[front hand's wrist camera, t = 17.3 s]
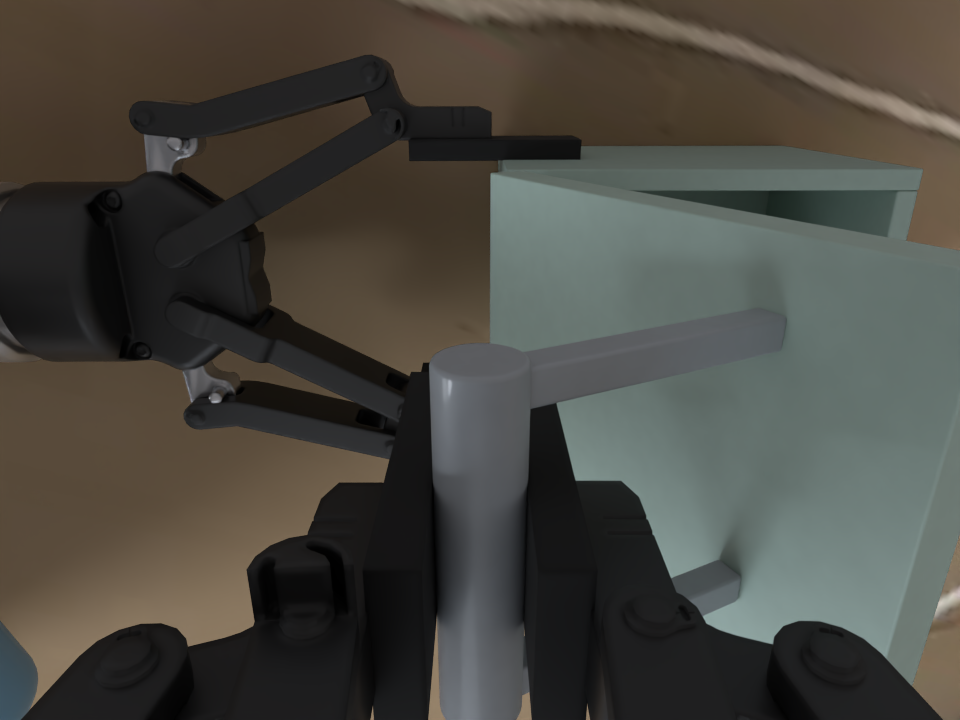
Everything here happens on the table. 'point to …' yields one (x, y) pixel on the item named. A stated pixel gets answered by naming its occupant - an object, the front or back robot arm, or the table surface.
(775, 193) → the chest
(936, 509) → the lid
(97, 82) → the table surface
